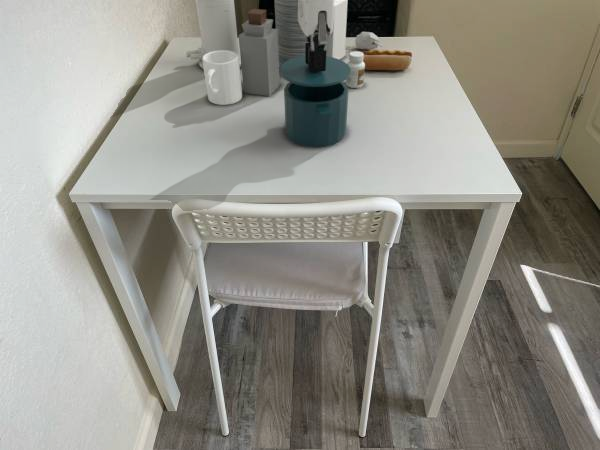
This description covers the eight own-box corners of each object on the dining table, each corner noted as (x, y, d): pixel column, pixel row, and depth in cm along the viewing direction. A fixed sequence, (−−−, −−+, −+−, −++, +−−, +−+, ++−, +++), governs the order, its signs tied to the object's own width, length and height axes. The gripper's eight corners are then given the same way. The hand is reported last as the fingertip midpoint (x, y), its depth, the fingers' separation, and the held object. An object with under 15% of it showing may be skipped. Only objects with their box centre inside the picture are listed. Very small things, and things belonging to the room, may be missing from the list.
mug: (195, 110, 104) (188, 68, 98) (216, 88, 113) (211, 48, 107) (228, 114, 103) (223, 72, 96) (247, 92, 111) (243, 51, 105)
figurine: (357, 45, 134) (358, 28, 131) (383, 49, 132) (385, 32, 128) (353, 50, 131) (354, 32, 128) (380, 54, 129) (382, 36, 126)
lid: (285, 92, 83) (285, 62, 79) (276, 62, 93) (275, 34, 89) (358, 87, 85) (360, 57, 81) (341, 58, 95) (342, 30, 91)
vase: (305, 82, 115) (305, -18, 100) (268, 72, 120) (263, -25, 105) (329, 66, 123) (332, -29, 108) (293, 57, 128) (291, -35, 112)
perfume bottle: (279, 84, 114) (276, 8, 102) (269, 96, 110) (265, 17, 98) (254, 81, 116) (249, 5, 104) (243, 92, 111) (236, 14, 99)
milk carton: (344, 56, 128) (348, -18, 115) (332, 65, 123) (335, -12, 111) (322, 51, 131) (324, -22, 118) (309, 60, 126) (310, -16, 114)
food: (408, 65, 123) (411, 46, 120) (411, 73, 119) (414, 54, 116) (356, 64, 124) (357, 46, 120) (357, 73, 119) (358, 53, 116)
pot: (292, 157, 89) (291, 112, 83) (280, 114, 103) (278, 73, 96) (355, 150, 91) (358, 106, 85) (335, 109, 104) (336, 68, 98)
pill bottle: (362, 89, 112) (364, 57, 107) (344, 87, 113) (346, 56, 108) (364, 81, 115) (366, 50, 110) (346, 80, 116) (348, 49, 111)
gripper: (288, -51, 81) (289, 52, 93) (304, -28, 69) (303, 87, 82) (329, -53, 82) (325, 50, 94) (352, -30, 70) (344, 84, 82)
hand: (315, 66), depth 88 cm, fingers closed on lid, 2 cm apart
